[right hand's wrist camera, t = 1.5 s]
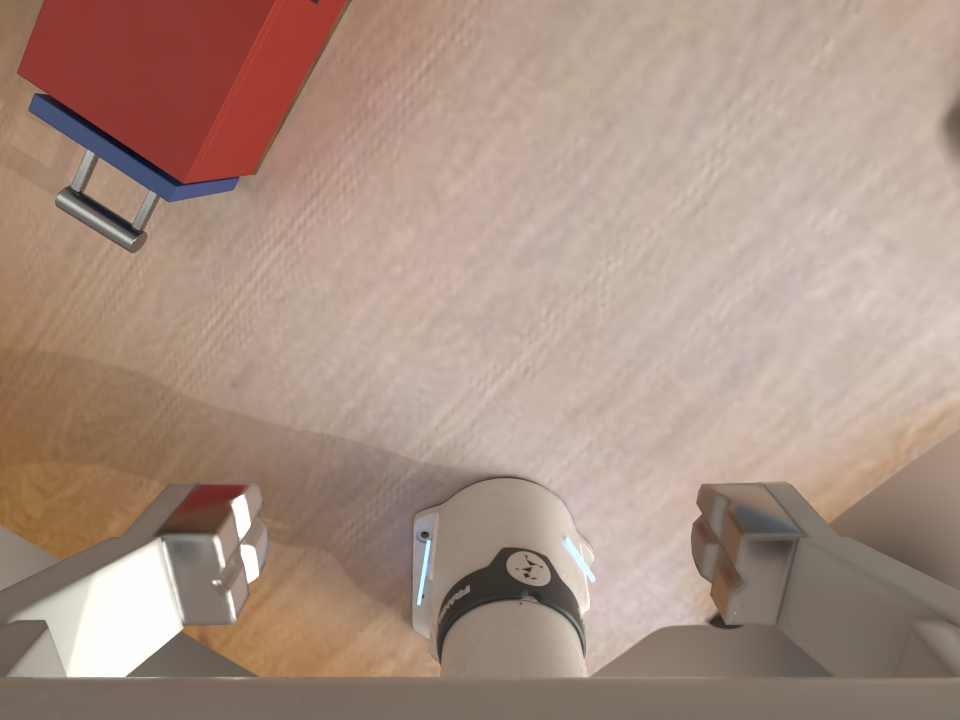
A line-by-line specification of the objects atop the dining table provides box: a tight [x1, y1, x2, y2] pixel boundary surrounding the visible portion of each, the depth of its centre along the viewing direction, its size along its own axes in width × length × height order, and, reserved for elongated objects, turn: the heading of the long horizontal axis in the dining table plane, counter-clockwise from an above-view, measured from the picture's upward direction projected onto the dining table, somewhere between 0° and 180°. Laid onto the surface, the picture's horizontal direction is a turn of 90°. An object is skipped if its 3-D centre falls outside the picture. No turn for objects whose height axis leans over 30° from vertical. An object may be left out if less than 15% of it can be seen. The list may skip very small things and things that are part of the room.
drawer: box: [28, 93, 239, 253], centre depth 37 cm, size 26×9×10 cm, turn 144°
